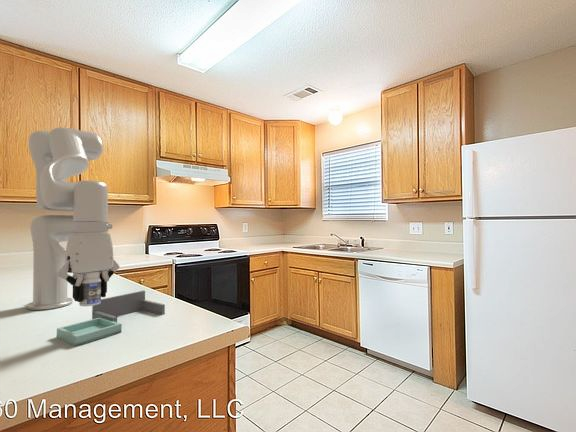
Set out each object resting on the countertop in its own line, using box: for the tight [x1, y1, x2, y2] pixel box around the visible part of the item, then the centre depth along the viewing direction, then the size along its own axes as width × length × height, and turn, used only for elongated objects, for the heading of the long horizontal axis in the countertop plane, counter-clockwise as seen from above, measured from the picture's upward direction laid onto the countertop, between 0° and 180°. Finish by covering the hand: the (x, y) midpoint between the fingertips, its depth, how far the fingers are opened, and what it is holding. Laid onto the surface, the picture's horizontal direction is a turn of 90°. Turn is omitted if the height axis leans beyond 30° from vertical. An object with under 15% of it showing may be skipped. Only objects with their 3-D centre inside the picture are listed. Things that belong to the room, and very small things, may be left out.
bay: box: [91, 290, 166, 323], centre depth 93 cm, size 12×16×6 cm
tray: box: [56, 317, 123, 347], centre depth 79 cm, size 11×11×2 cm
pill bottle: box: [78, 271, 102, 307], centre depth 79 cm, size 5×5×8 cm
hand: (90, 298), depth 79 cm, fingers closed on pill bottle, 4 cm apart
